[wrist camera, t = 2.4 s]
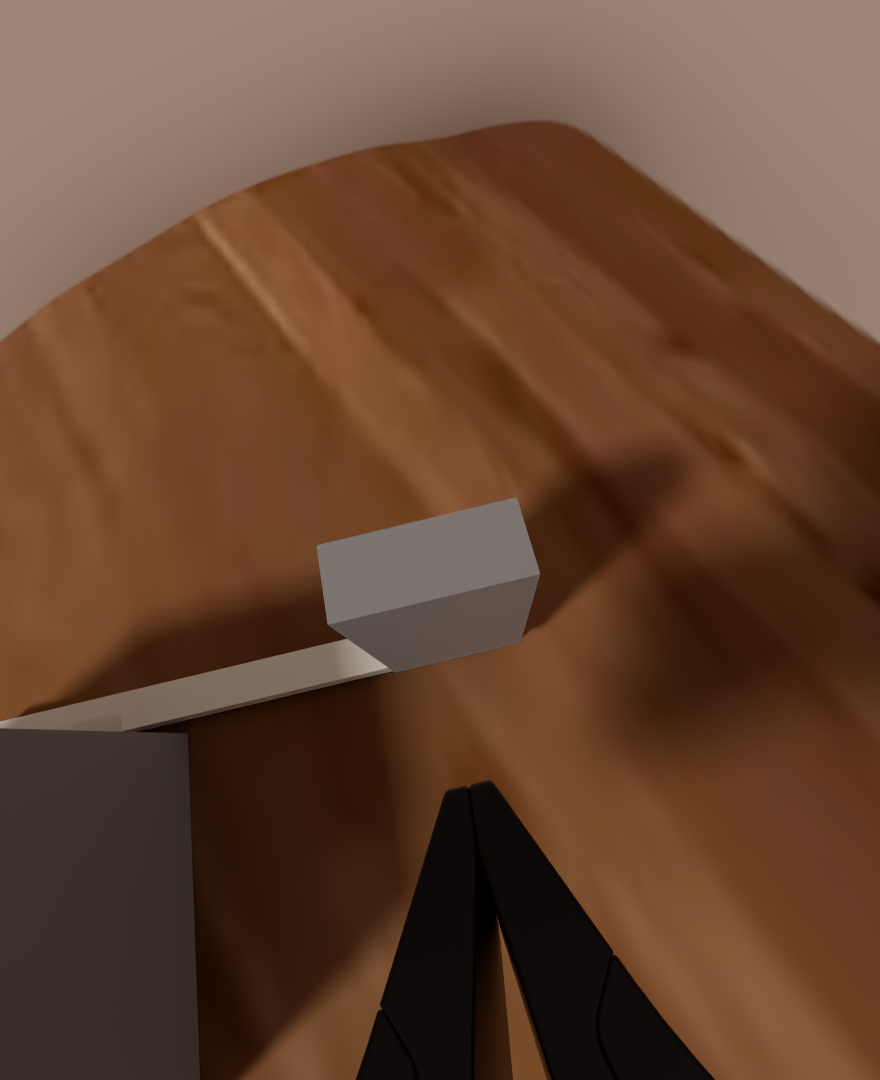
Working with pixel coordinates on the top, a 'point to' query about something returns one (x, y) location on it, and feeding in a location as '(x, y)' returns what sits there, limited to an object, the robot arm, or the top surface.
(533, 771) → the top surface
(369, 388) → the top surface
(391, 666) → the grey white bent piece
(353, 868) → the top surface
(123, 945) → the tunnel
